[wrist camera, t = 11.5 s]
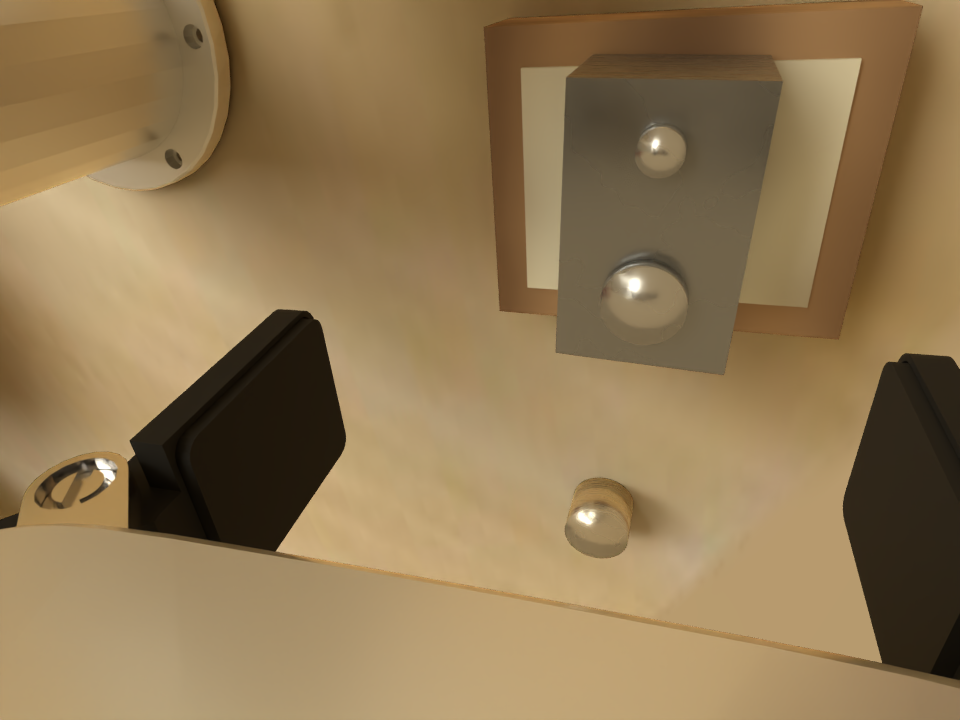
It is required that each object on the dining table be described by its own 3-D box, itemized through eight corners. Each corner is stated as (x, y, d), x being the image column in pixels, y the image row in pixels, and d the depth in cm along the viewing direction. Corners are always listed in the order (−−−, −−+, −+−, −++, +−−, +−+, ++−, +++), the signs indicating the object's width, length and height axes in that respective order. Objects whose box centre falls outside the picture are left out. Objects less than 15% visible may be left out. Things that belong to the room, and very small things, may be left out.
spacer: (573, 515, 34) (564, 551, 32) (575, 472, 33) (565, 506, 31) (631, 526, 34) (625, 563, 32) (635, 483, 32) (629, 519, 30)
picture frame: (519, 279, 28) (498, 313, 25) (509, 18, 23) (482, 27, 20) (827, 300, 25) (839, 342, 22) (897, -2, 19) (925, 6, 17)
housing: (593, 53, 20) (561, 81, 16) (771, 55, 18) (785, 85, 14) (580, 292, 24) (551, 362, 20) (723, 307, 23) (723, 386, 19)
